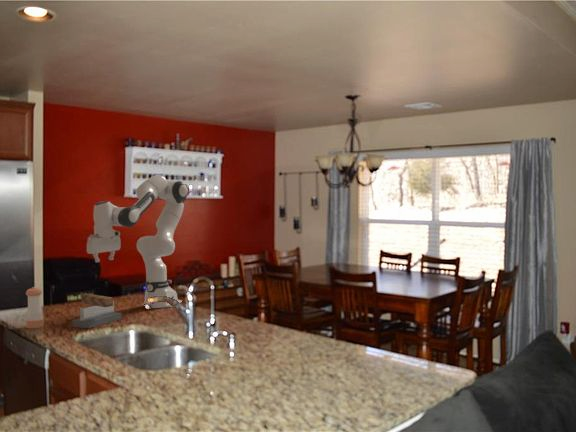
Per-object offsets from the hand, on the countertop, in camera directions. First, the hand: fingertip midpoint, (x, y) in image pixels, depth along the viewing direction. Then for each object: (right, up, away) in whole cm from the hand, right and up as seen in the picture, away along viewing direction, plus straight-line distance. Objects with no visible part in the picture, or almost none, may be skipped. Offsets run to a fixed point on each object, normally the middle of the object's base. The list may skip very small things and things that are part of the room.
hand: (104, 261), depth 278 cm
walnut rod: (-1, -20, -9) cm, 22 cm away
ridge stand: (-1, -29, -8) cm, 31 cm away
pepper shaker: (-29, -31, -14) cm, 44 cm away
